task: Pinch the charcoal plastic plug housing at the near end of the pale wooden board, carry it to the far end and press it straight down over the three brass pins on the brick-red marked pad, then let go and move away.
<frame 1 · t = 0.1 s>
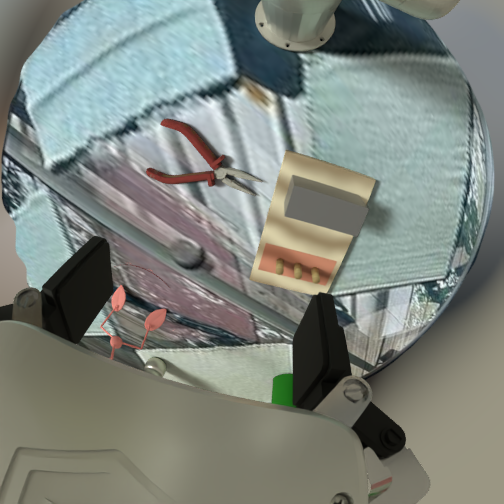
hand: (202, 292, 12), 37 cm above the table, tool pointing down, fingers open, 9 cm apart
pliers: (198, 168, 46), on the table
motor: (289, 381, 75), on the table
plastic bottle: (158, 360, 77), on the table
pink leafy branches: (145, 292, 62), on the table
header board: (308, 229, 49), on the table
plug housing: (322, 198, 45), point 1 cm above the table, touching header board
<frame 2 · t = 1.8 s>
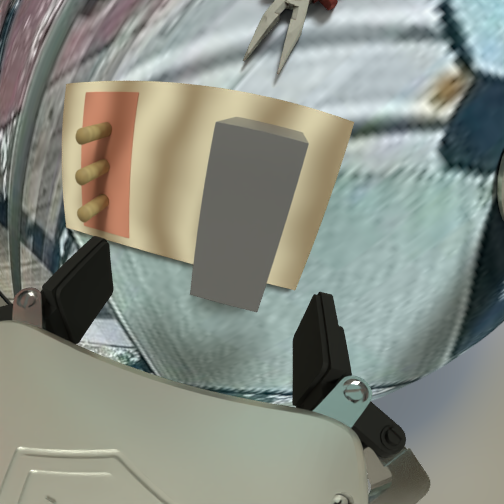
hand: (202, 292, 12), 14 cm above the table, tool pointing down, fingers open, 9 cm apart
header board: (177, 173, 23), on the table
plug housing: (252, 196, 22), point 1 cm above the table, touching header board
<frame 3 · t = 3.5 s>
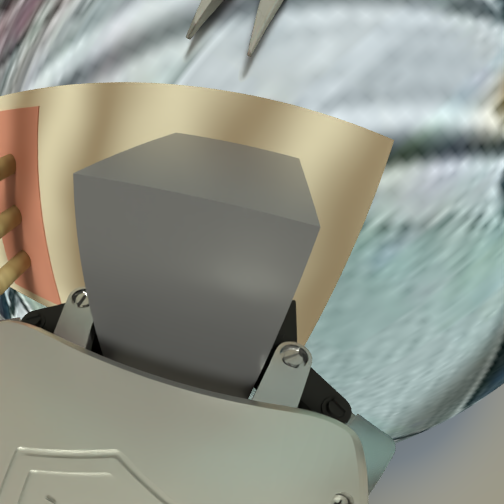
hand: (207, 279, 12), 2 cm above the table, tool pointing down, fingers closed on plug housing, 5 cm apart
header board: (104, 224, 14), on the table
plug housing: (212, 268, 13), point 2 cm above the table, touching gripper, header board
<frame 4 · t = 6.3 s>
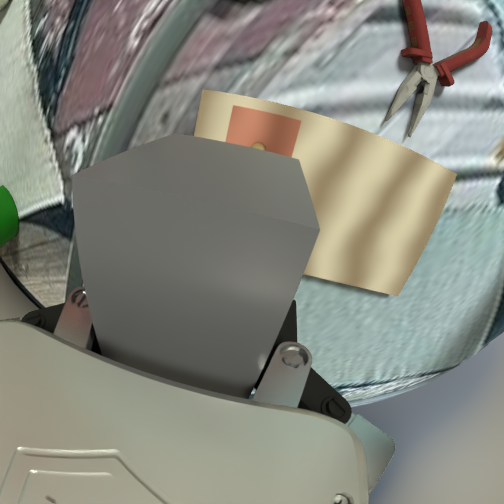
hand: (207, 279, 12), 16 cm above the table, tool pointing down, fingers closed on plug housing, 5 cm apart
pliers: (420, 37, 16), on the table
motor: (6, 212, 32), on the table
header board: (320, 199, 26), on the table
plug housing: (211, 269, 13), point 15 cm above the table, touching gripper
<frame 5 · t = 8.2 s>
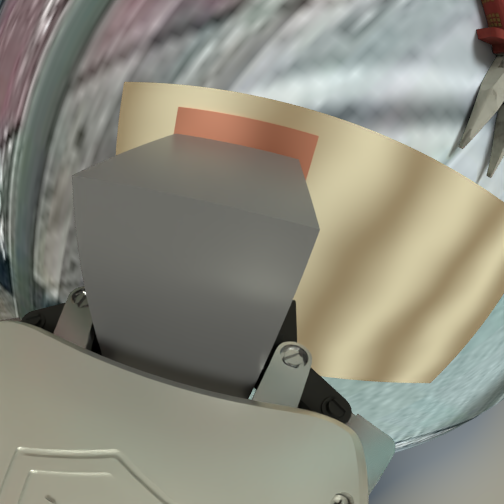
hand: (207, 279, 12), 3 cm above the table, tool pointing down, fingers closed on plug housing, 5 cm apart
pliers: (493, 17, 6), on the table
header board: (343, 273, 15), on the table
plug housing: (211, 269, 13), point 2 cm above the table, touching gripper
when the fingers open (3 cm above the table, at t = 9.4 s): plug housing stays where it is, resting on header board.
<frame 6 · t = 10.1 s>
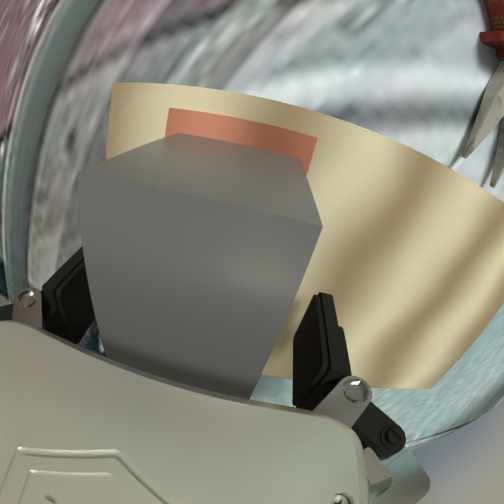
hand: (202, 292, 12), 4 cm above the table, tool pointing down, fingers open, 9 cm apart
pliers: (497, 19, 5), on the table
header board: (342, 280, 15), on the table
plug housing: (213, 268, 13), point 2 cm above the table, touching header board
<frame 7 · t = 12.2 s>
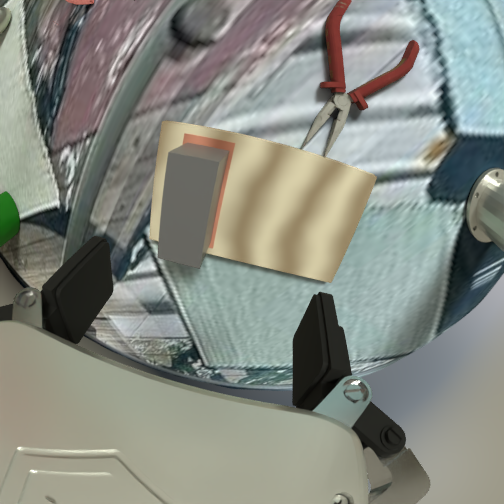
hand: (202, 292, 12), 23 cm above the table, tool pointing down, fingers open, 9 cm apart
pliers: (341, 67, 25), on the table
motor: (8, 214, 37), on the table
plastic bottle: (5, 22, 17), on the table
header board: (256, 202, 34), on the table
plug housing: (199, 194, 32), point 2 cm above the table, touching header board
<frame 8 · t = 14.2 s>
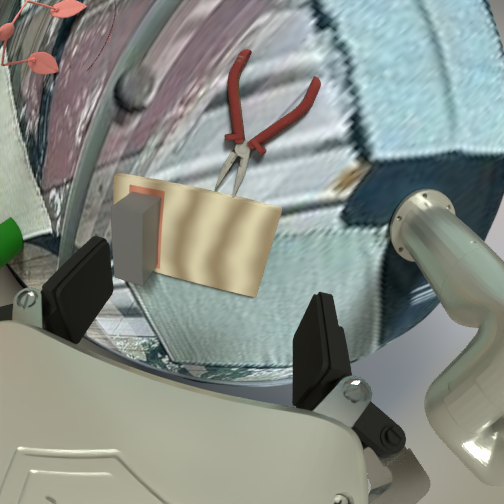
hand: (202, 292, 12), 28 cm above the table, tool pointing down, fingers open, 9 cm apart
pliers: (246, 116, 34), on the table
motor: (13, 235, 48), on the table
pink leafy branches: (77, 39, 26), on the table
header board: (188, 234, 43), on the table
plug housing: (144, 229, 41), point 2 cm above the table, touching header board
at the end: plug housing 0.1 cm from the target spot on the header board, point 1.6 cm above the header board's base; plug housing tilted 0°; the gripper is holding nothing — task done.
